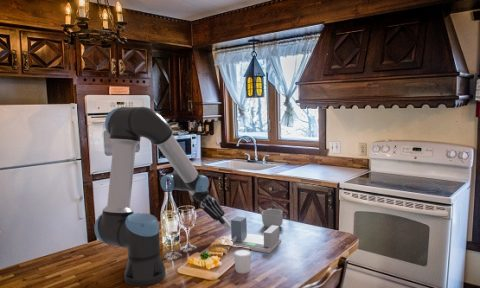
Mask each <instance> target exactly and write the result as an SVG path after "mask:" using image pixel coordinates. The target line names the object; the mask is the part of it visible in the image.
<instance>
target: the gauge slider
mask: <svg viewBox="0 0 480 288" xmlns="http://www.w3.org/2000/svg"><path fill="white" fill-rule="evenodd" d="M230 224H231V228H230V230H231V231H230V232H231V234H230V235H231V237H232V240H231V241H232V242H234V241H235V240H243V239H244V238H245V237H246V236H247V233H248V228H247V217H246V216H245V217H244V216H237V215H236V216H235V217H233V218H231V220H230Z"/></svg>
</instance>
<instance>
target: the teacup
mask: <svg viewBox="0 0 480 288" xmlns="http://www.w3.org/2000/svg"><path fill="white" fill-rule="evenodd" d="M283 213H284V212H283V211H282V210H281V209H278V208H267V209H265V210H263V211H261V220H262V224H263V225H264V226H263V227H266V228H267V229H268V228H269V227H270V226H272V225H275V226H279V227H280V226H282V224H283V222H284V221H283V220H284V219H283V218H284V217H283Z"/></svg>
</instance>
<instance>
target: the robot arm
mask: <svg viewBox="0 0 480 288" xmlns="http://www.w3.org/2000/svg"><path fill="white" fill-rule="evenodd" d="M104 128H105V130H106V132H107V134H109V141H110V142H112V155H111V165H110V175H109V184H108V186H109V187H108V193H107V204H106V206H105V207H103V209H102V212H101V214H100V215H99V216H98V217H97V219H96V220H95V222H94V226H93V227H94V234H95V237H96V239H98V241H100V243H104V244H106V245H108V246H115V247H119V248H120V247H121V248H124V249H127V261H126V266H125V270H124V273H123V275H124V276H123V277H124V283H126V284H127V285H129V286H132V287H147V286H151V285H154V284H157V283H159V282H161V281H162V280H163V279H165V277H166V275H167V271H166V266H165V264H164V261H163V259H162V256H161V252H160V251H161V246H160V226H159V221H158V218H157V217H156V216H155V215H153V214H150V213H146V212H142V213H140V212H137V213H134V209H133V208H132V206H131V201H132V192H133V191H132V189H133V179H134V178H133V177H134V171H135V159H136V157H135V156H136V148H137V146H138V145H139V144H140V143H141V138H145V139H147V140H149V142H150V143H151V144H152V145H154V146H157V147H158V149H159V150H160V152H161V153H162V155H163V156H164V157H165V159H166V160H167V161H168V163H169V164H170V165H171V166H172V168H173V172H170V173H168V174H165V175H164V176H162V177H161V179H160V187H161V189H162V190H163V191H165V192H171V191H173V190H177V191H185V192H187V191H188V192H189V194H190V195H192V197H193V199H194V200H195V201H196V202H199V204H200V205H199V208H200V209H201V210H203V212H205V213H206V214H207V215H209V217H210V218H211V219H212V220H214V221H215V222H217V221H218V222H219V223H220V224H221V225H222V226H223V227H224V229H226V231H229V230H231V222H229V220H228V219H227V218H226V216H225V211H224V209H223V208H222V206H221V205H220V203H219V201H218V199H217V197H212V196H211V195H210V194H209V192H210V191H209V190H208V188H209V186H210V183H209V178H208V177H207V176H206V175H203V174H200V173H199V172H198V170H197V169H196V168H195V166H194V164H193V163H192V161H191V159H189V157H188V156H187V153H186V152H185V151H184V149H183V148H182V147H181V144H180V143H179V142H178V141H177V139H176V138H175V136H174V134H173V133H174V131H173V129H172V127H171V125H170V124H169V123H168V122H167V121H166V119H165V118H164V117H163V116H162V115H161V114H159V113H158V112H157V111H155V110H154V109H152V108H149V107H146V106H122V107H117V108H116V107H115V108H114V109H112V110H111V111H109V112H108V114H107V115H106V118H105V121H104ZM167 179H170V183H171V185H170V187H169V188H167V189H166V182H165V181H166V180H167ZM168 189H169V190H168Z"/></svg>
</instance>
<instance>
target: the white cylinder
mask: <svg viewBox="0 0 480 288" xmlns="http://www.w3.org/2000/svg"><path fill="white" fill-rule="evenodd" d="M251 251H252V250H249V249H243V248H240V249H237V250H235V251H233V259H234V266H235V267H234V269H235V271H236V272H237V273H238V274H247V273H249V272H250V271H251V261H252V252H251Z"/></svg>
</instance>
